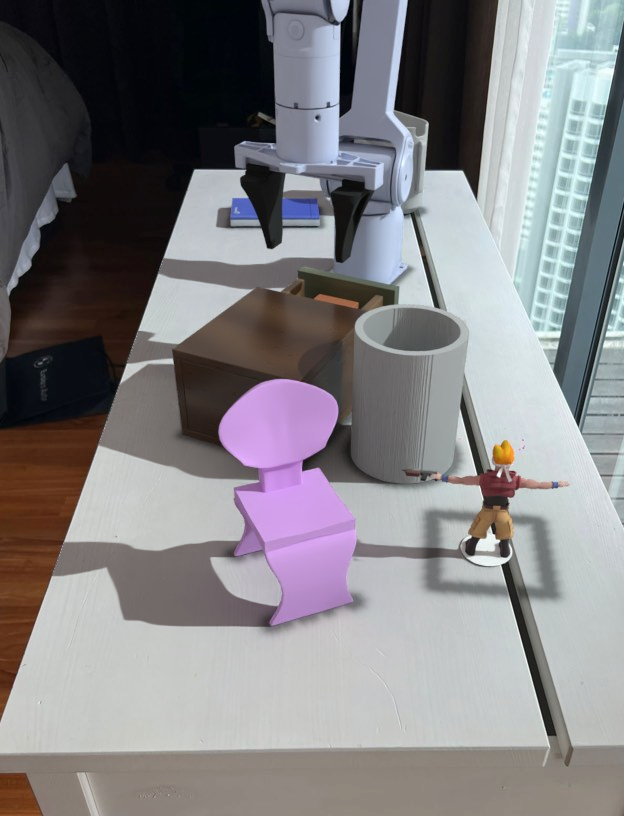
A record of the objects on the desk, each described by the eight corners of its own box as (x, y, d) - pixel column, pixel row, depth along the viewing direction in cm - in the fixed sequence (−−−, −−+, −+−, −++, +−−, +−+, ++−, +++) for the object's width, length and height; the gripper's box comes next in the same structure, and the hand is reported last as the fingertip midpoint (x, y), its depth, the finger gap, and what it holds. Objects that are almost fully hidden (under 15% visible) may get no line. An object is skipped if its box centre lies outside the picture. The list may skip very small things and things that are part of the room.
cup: (335, 437, 77) (337, 314, 69) (423, 418, 79) (435, 297, 72) (377, 493, 70) (385, 363, 63) (472, 469, 73) (490, 343, 65)
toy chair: (259, 635, 57) (247, 452, 48) (220, 557, 64) (203, 381, 54) (369, 602, 60) (379, 423, 50) (322, 531, 66) (322, 358, 57)
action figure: (395, 558, 64) (403, 456, 58) (396, 534, 66) (404, 433, 60) (554, 569, 63) (579, 466, 57) (550, 544, 66) (573, 443, 60)
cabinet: (260, 366, 87) (257, 286, 81) (368, 393, 83) (371, 311, 77) (181, 435, 76) (171, 349, 71) (300, 469, 73) (298, 381, 67)
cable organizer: (379, 190, 131) (383, 106, 123) (433, 213, 123) (441, 124, 116) (345, 199, 127) (347, 112, 120) (399, 222, 120) (405, 132, 112)
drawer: (320, 311, 95) (320, 252, 90) (410, 332, 91) (415, 271, 87) (240, 381, 82) (236, 316, 78) (341, 407, 79) (342, 341, 75)
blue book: (230, 216, 116) (319, 216, 117) (232, 196, 122) (317, 196, 123) (230, 227, 117) (319, 227, 118) (232, 207, 123) (317, 207, 124)
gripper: (213, 101, 74) (224, 253, 83) (363, 122, 70) (358, 280, 78) (252, 85, 79) (259, 230, 88) (395, 104, 75) (387, 254, 83)
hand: (308, 252), depth 83 cm, fingers open, 7 cm apart
